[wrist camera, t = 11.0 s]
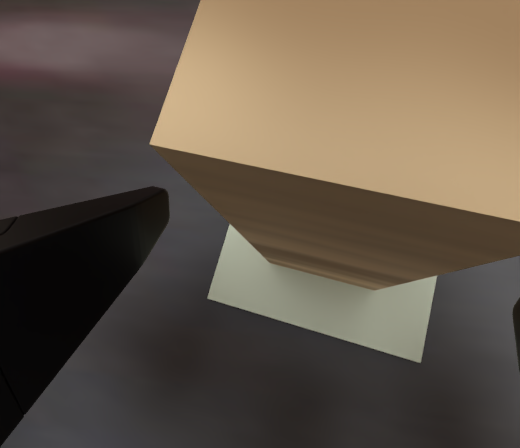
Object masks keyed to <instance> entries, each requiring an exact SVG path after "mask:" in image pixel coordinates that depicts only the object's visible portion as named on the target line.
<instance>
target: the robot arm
mask: <svg viewBox="0 0 520 448" xmlns="http://www.w3.org/2000/svg"><path fill="white" fill-rule="evenodd" d="M169 218H170V211H169V195H168V192H167V191H166V190H165V189H163V188H158V187H154V186H152V187H147V188H142V189H138V190H133V191H129V192H124V193H120V194H115V195H111V196H106V197H102V198H97V199H93V200H88V201H84V202H79V203H75V204H70V205H66V206H61V207H56V208H52V209H47V210H43V211H38V212H34V213H29V214H25V215H20V216H19V217H11V218H7V219H2V220H0V447H1V445H2V444H3V443H4V441H5V440H6V439H7V438H8V436H9V435H10V434H11V433H12V431H13V430H14V429H15V427H16V426H17V425H18V424H19V422H20V421H21V420H22V419H23V417H24V415H25V414H26V413H27V412H28V410H29V409H30V408H31V407H32V405H33V404H34V403H35V402H36V400H37V399H38V398H39V396H40V395H41V394H42V393H43V391H44V390H45V389H46V387H47V386H48V385H49V384H50V382H51V381H52V380H53V379H54V377H55V376H56V375H57V373H58V372H59V371H60V370H61V368H62V367H63V366H64V364H65V363H66V362H67V361H68V359H69V358H70V357H71V356H72V354H73V353H74V352H75V350H76V349H77V348H78V347H79V345H80V344H81V343H82V342H83V340H84V339H85V338H86V336H87V335H88V334H89V333H90V331H91V330H92V329H93V327H94V326H95V325H96V324H97V322H98V321H99V320H100V319H101V317H102V316H103V315H104V313H105V312H106V311H107V310H108V308H109V307H110V306H111V304H112V303H113V302H114V301H115V299H116V298H117V297H118V296H119V294H120V293H121V292H122V290H123V289H124V288H125V287H126V285H127V284H128V283H129V281H130V280H131V279H132V278H133V276H134V275H135V274H136V273H137V271H138V270H139V269H140V267H141V266H142V264H143V263H144V261H145V260H146V258H147V257H148V255H149V254H150V252H151V250H152V249H153V247H154V245H155V244H156V242H157V241H158V239H159V237H160V236H161V234H162V232H163V231H164V229H165V228H166V226H167V224H168V222H169ZM513 323H514V332H515V340H516V348H517V356H518V364H519V371H520V298H519V299H518V301H517V302H516V304H515V305H514V308H513Z"/></svg>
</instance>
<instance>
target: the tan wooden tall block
mask: <svg viewBox="0 0 520 448" xmlns="http://www.w3.org/2000/svg"><path fill="white" fill-rule="evenodd" d="M150 145H151V146H152V147H153V148H154V149H155V150H156V151H157V152H158V153H159V154H160V155H161V156H162V157H163V158H164V159H165V160H166V161H167V162H168V163H169V164H170V165H171V166H172V167H173V168H174V169H175V170H176V171H177V172H178V173H179V174H180V175H181V176H182V177H183V178H184V179H185V180H186V181H187V182H188V183H189V184H190V185H191V186H192V187H193V188H194V189H195V190H196V191H197V192H198V193H199V194H200V195H201V196H202V197H203V198H204V199H205V200H206V201H207V202H208V203H209V204H210V205H211V206H212V207H213V208H214V209H215V210H216V211H218V212H219V213H220V214H221V215H222V216H223V217H224V218H225V219H226V220H227V221H228V222H229V223H230V224H231V225H232V226H233V227H234V228H235V229H236V230H237V231H238V232H239V233H240V234H241V235H242V236H243V237H244V238H245V239H246V240H247V241H248V242H249V243H250V244H251V245H252V246H253V247H254V248H255V249H256V250H257V251H258V252H259V253H260V254H261V255H262V256H263V257H264V258H265V259H266V260H267V261H268V262H269V263H272V264H275V265H279V266H283V267H287V268H290V269H294V270H298V271H302V272H306V273H309V274H313V275H317V276H321V277H325V278H328V279H332V280H336V281H340V282H344V283H347V284H351V285H355V286H359V287H363V288H366V289H370V290H374V291H375V290H379V289H383V288H387V287H391V286H396V285H400V284H404V283H408V282H412V281H416V280H420V279H424V278H429V277H433V276H437V275H441V274H445V273H449V272H453V271H458V270H462V269H466V268H470V267H474V266H478V265H482V264H487V263H491V262H495V261H499V260H503V259H507V258H511V257H516V256H520V0H201V1H200V4H199V7H198V10H197V13H196V15H195V18H194V21H193V24H192V27H191V29H190V32H189V35H188V38H187V41H186V43H185V46H184V49H183V52H182V55H181V57H180V60H179V63H178V66H177V69H176V71H175V74H174V77H173V80H172V83H171V85H170V88H169V91H168V94H167V97H166V99H165V102H164V105H163V108H162V111H161V113H160V116H159V119H158V122H157V125H156V127H155V130H154V133H153V136H152V139H151V141H150Z"/></svg>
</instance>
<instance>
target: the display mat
mask: <svg viewBox="0 0 520 448" xmlns="http://www.w3.org/2000/svg"><path fill="white" fill-rule="evenodd" d="M436 279H437V276H433V277H429V278H424V279H420V280H416V281H412V282H408V283H404V284H400V285H396V286H391V287H387V288H383V289H379V290H375V291H374V290H370V289H366V288H363V287H359V286H355V285H351V284H347V283H344V282H340V281H336V280H332V279H328V278H325V277H321V276H317V275H313V274H309V273H306V272H302V271H298V270H294V269H290V268H287V267H283V266H279V265H275V264H272V263H269V262H268V261H267V260H266V259H265V258H264V257H263V256H262V255H261V254H260V253H259V252H258V251H257V250H256V249H255V248H254V247H253V246H252V245H251V244H250V243H249V242H248V241H247V240H246V239H245V238H244V237H243V236H242V235H241V234H240V233H239V232H238V231H237V230H236V229H235V228H234V227H233V226H232V225H231V224H230V225H229V228H228V231H227V235H226V238H225V241H224V245H223V248H222V251H221V254H220V258H219V261H218V264H217V268H216V271H215V274H214V277H213V281H212V284H211V287H210V290H209V294H208V297H207V299H210V300H214V301H217V302H220V303H224V304H227V305H230V306H234V307H237V308H240V309H243V310H247V311H250V312H253V313H257V314H260V315H263V316H267V317H270V318H273V319H276V320H280V321H283V322H286V323H290V324H293V325H296V326H300V327H303V328H306V329H309V330H313V331H316V332H319V333H323V334H326V335H329V336H333V337H336V338H339V339H343V340H346V341H349V342H352V343H356V344H359V345H362V346H366V347H369V348H372V349H376V350H379V351H382V352H385V353H389V354H392V355H395V356H399V357H402V358H405V359H409V360H412V361H415V362H418V363H421V359H422V353H423V348H424V343H425V337H426V332H427V327H428V321H429V316H430V311H431V305H432V300H433V295H434V289H435V284H436Z"/></svg>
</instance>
